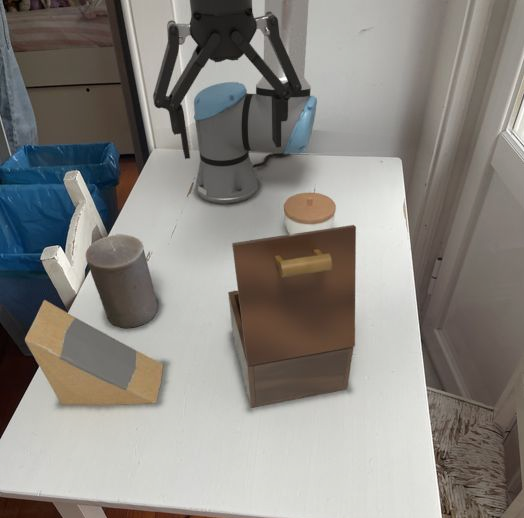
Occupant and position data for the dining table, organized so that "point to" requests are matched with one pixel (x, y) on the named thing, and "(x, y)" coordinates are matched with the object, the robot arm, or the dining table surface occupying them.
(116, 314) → the pillar candle
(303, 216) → the trinket box
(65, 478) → the dining table surface
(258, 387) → the bread box
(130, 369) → the sandwich container
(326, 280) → the lid
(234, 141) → the robot arm
